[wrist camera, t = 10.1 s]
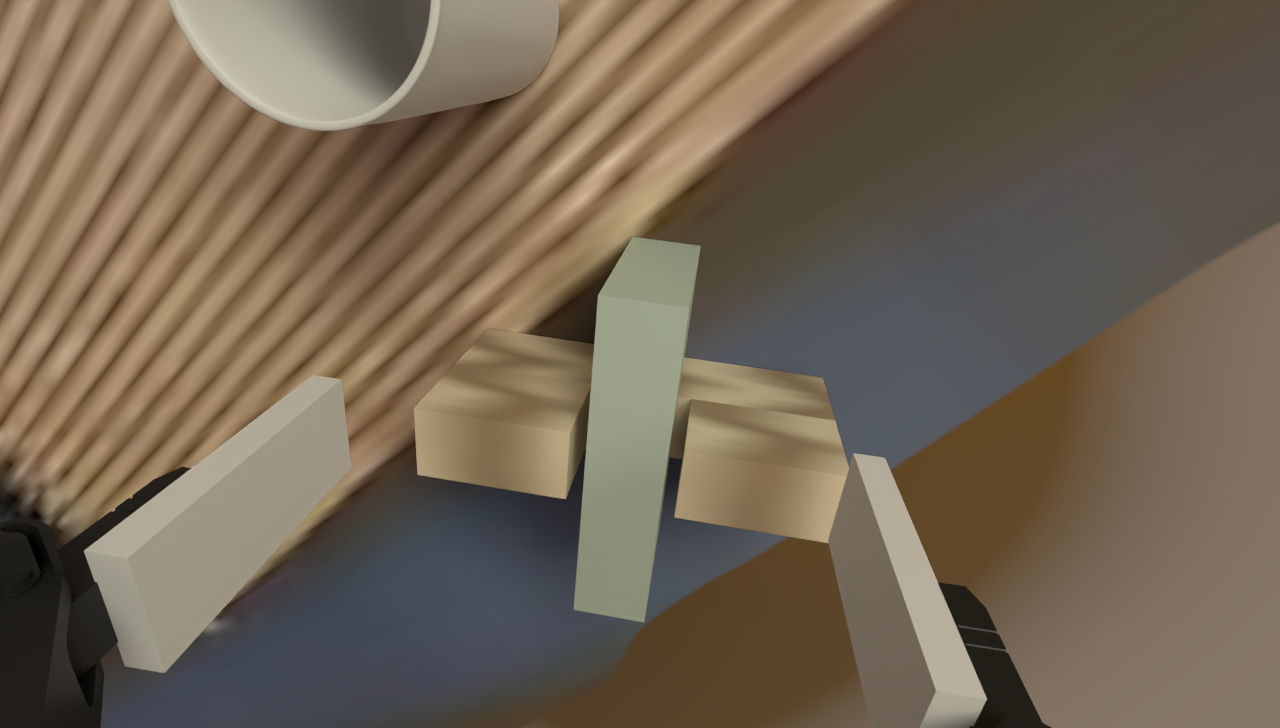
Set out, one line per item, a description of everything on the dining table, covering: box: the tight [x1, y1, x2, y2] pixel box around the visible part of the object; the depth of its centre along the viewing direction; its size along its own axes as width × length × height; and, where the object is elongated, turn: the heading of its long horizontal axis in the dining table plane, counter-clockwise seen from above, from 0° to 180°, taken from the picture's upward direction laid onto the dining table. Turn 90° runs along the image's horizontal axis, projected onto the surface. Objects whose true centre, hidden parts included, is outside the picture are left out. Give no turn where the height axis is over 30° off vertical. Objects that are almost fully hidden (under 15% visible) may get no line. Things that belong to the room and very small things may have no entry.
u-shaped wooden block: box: [414, 329, 849, 543], centre depth 27 cm, size 16×3×8 cm, turn 84°
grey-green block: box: [574, 237, 701, 622], centre depth 27 cm, size 3×14×8 cm, turn 174°
